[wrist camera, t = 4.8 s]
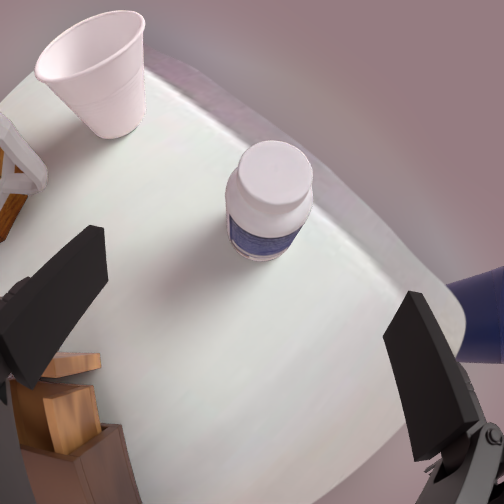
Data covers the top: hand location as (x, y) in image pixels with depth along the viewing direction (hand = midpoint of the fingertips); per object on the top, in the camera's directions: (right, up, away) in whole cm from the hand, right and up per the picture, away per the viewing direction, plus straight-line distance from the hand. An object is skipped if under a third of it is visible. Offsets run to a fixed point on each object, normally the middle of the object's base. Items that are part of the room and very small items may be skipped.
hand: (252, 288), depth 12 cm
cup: (-14, +15, +15) cm, 26 cm away
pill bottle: (+1, +3, +13) cm, 13 cm away
